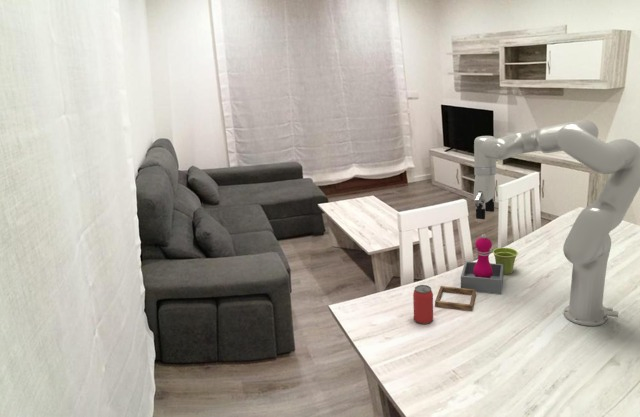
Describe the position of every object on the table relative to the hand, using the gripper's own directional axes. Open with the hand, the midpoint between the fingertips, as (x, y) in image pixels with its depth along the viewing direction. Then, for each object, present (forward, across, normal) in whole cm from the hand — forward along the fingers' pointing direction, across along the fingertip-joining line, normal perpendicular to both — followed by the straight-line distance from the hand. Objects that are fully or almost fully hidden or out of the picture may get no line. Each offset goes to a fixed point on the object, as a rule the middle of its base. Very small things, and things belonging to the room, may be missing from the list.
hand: (485, 215), depth 180 cm
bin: (+29, 0, -1) cm, 29 cm away
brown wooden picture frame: (+29, +17, -5) cm, 34 cm away
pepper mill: (+28, 0, -1) cm, 28 cm away
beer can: (+29, +35, -9) cm, 47 cm away
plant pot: (+29, -15, +2) cm, 33 cm away
